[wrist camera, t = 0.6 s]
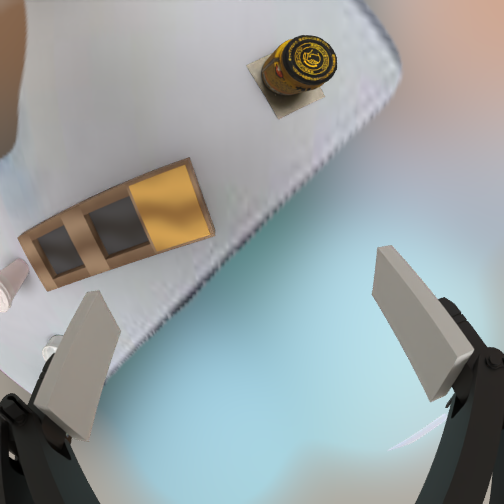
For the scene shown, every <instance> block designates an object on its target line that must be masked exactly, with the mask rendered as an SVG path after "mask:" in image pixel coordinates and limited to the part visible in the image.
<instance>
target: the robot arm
mask: <svg viewBox="0 0 504 504" xmlns="http://www.w3.org/2000/svg"><path fill="white" fill-rule="evenodd" d="M372 296H373V297H374V299H375V301H376V302H377V304H378V306H379V307H380V309H381V311H382V312H383V314H384V316H385V318H386V319H387V321H388V323H389V324H390V326H391V328H392V330H393V331H394V333H395V335H396V337H397V339H398V340H399V342H400V344H401V346H402V348H403V350H404V352H405V353H406V355H407V357H408V359H409V360H410V363H411V365H412V366H413V369H414V370H415V372H416V374H417V376H418V378H419V380H420V382H421V384H422V386H423V388H424V390H425V392H426V394H427V396H428V399H429V400H430V402H432V401H434V400H436V399H438V398H441V397H443V396H445V395H446V394H447V393H448V391H449V390H450V388H451V387H452V388H453V390H454V392H455V393H454V394H453V396H452V398H451V399H450V400H449V401H448V403H447V405H446V407H445V408H448V407H449V405H450V404H451V405H450V410H449V413H448V417H447V421H446V424H445V428H444V431H443V434H442V438H441V441H440V444H439V447H438V450H437V452H436V455H435V458H434V461H433V463H432V466H431V469H430V471H429V474H428V476H427V478H426V481H425V483H424V486H423V488H422V490H421V492H420V494H419V496H418V499H417V501H416V503H415V504H483V501H484V498H485V495H486V492H487V489H488V486H489V482H490V479H491V476H492V485H491V494H490V501H489V504H504V354H503V353H502V352H501V351H500V350H499V349H496V348H494V347H487V346H486V345H485V344H484V342H483V341H482V339H481V338H480V337H479V335H478V334H477V332H476V331H475V330H474V329H473V327H472V326H471V324H470V323H469V322H468V321H466V320H467V319H466V318H465V317H464V315H463V314H461V311H460V310H459V309H458V308H457V306H456V305H455V304H454V303H453V302H451V301H450V300H448V299H447V298H445V297H443V298H440V299H437V298H436V297H435V295H434V294H433V293H432V292H431V290H430V289H429V288H428V287H427V285H426V284H425V283H424V282H423V281H422V279H421V278H420V277H419V276H418V275H417V273H416V272H415V271H414V270H413V269H412V268H411V266H410V265H409V264H408V263H407V262H406V261H405V259H403V257H402V256H401V255H400V254H399V253H398V252H397V251H396V249H394V247H393V246H392V245H389V246H384V247H378V248H377V258H376V266H375V275H374V283H373V290H372ZM120 333H121V330H120V328H119V326H118V325H117V323H116V321H115V319H114V318H113V316H112V314H111V312H110V310H109V308H108V306H107V304H106V303H105V301H104V299H103V297H102V295H101V293H100V291H99V290H98V291H91V292H87V293H86V295H85V297H84V298H83V300H82V302H81V304H80V306H79V307H78V309H77V311H76V313H75V315H74V317H73V318H72V320H71V322H70V324H69V326H68V328H67V330H66V332H65V334H64V336H63V338H62V340H61V342H60V344H59V346H58V348H57V350H56V352H55V353H53V354H52V355H51V356H50V357H49V359H48V360H47V361H46V363H45V365H44V367H43V370H42V371H43V372H41V374H40V376H39V379H38V381H37V383H36V386H35V388H34V390H33V393H32V395H31V398H30V401H29V403H28V405H26V404H25V403H24V402H23V401H22V400H21V399H20V398H19V397H18V396H17V395H16V394H13V393H10V394H8V395H6V396H5V397H4V398H3V399H2V401H1V402H0V504H100V502H99V501H98V499H97V497H96V495H95V494H94V492H93V490H92V488H91V487H90V485H89V483H88V481H87V479H86V477H85V475H84V473H83V471H82V469H81V468H80V465H79V463H78V461H77V459H76V457H75V454H74V452H73V450H72V448H71V445H70V443H69V441H68V440H67V439H66V438H65V437H66V433H67V434H69V435H70V436H71V437H72V438H74V439H76V440H81V441H86V442H89V437H90V433H91V429H92V425H93V421H94V417H95V413H96V409H97V406H98V402H99V399H100V395H101V392H102V388H103V385H104V382H105V378H106V375H107V372H108V369H109V365H110V362H111V359H112V356H113V353H114V350H115V347H116V344H117V341H118V338H119V336H120ZM9 451H10V452H11V453H12V454H14V455H15V460H13V459H12V458H10V457H9ZM492 472H493V474H492Z"/></svg>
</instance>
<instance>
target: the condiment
mask: <svg viewBox="0 0 504 504" xmlns="http://www.w3.org/2000/svg"><path fill="white" fill-rule="evenodd" d="M246 66H247V68H248V69H249V71H250V73H251V74H252V76H253V77H254V79H255V81H256V82H257V84H258V86H259V87H260V89H261V90H262V92H263V94H264V95H265V97H266V98H267V100H268V102H269V104H270V105H271V107H272V109H273V110H274V112H275V114H276V116H277V117H278V119H280V118H282V117H284V116H286V115H288V114H290V113H292V112H294V111H296V110H298V109H300V108H302V107H304V106H306V105H308V104H310V103H313V102H315V101H317V100H319V99H321V98H323V97H325V96H324V94H323V92H322V90H321V88H320V86H321V85H323V84H324V83H325V82H327V81H329V79H331V78H332V77H333V75H334V73H335V71H336V70H337V57H336V54H335V52H334V50H333V49H332V47H331V46H330V45H329V44H328V43H326V42H325V41H324V40H323V39H321V38H319V37H316V36H310V35H301V36H298V37H295V38H294V39H290V40H287V41H285V42H284V43H282V44H281V45H280V46H279V47H278V48H277V49H276V50H275V51H274V52H273V53H272V54H270V55H268V56H265V57H263V58H261V59H259V60H257V61H255V62H252V63H250V64H248V65H246Z"/></svg>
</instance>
